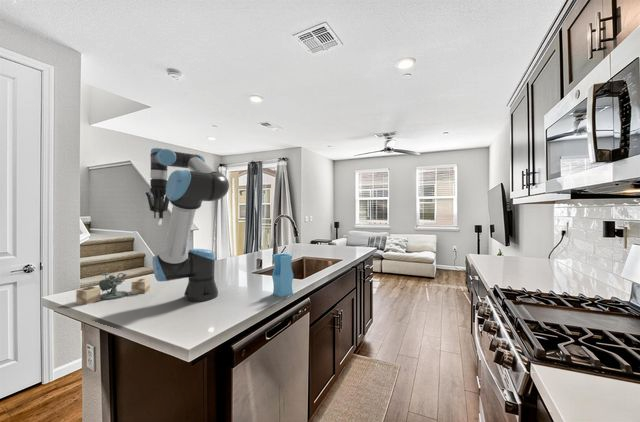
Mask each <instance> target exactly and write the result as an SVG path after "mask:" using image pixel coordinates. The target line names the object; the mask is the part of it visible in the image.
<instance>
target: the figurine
mask: <svg viewBox="0 0 640 422" xmlns="http://www.w3.org/2000/svg"><path fill="white" fill-rule="evenodd" d="M108 275H109V276H108ZM119 275H122V276H121V277H120V276H119ZM101 276H104V277H105V278H104V279H102V280H100V281H99V282H98V287H100V291H102V292H104V293H102V294H100V301H111V300H116V299H120V298H123V297H124V298H125V297H126V296H127V295H128V292H127V291H125V290H118V289H117V286H119V285H122V284H123V282H125V281H126V280H125V279H124V278H125V277H126V276H127V273H123V272H119V273H118V274H117V276H115V275H113V274H111V275H110V272H103V273H101ZM107 276H108V277H107ZM109 290H110V291H109ZM105 291H106V292H105Z"/></svg>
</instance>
